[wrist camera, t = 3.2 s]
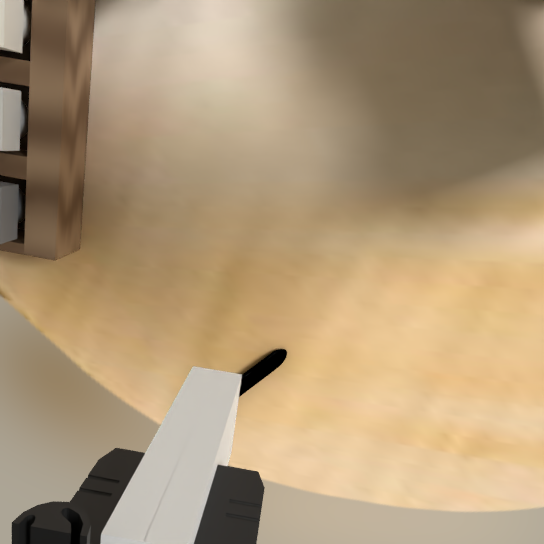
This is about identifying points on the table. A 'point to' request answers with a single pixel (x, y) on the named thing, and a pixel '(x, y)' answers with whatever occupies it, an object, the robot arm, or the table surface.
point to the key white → (14, 25)
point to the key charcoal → (10, 210)
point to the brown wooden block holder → (53, 126)
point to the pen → (262, 369)
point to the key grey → (12, 119)
